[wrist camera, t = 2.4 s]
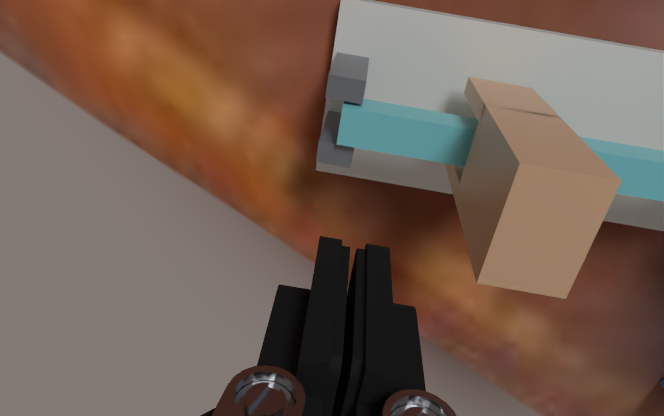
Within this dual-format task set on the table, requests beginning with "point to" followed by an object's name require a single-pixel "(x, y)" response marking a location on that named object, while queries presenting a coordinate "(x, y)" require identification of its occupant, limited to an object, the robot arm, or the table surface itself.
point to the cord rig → (456, 114)
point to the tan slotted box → (527, 192)
